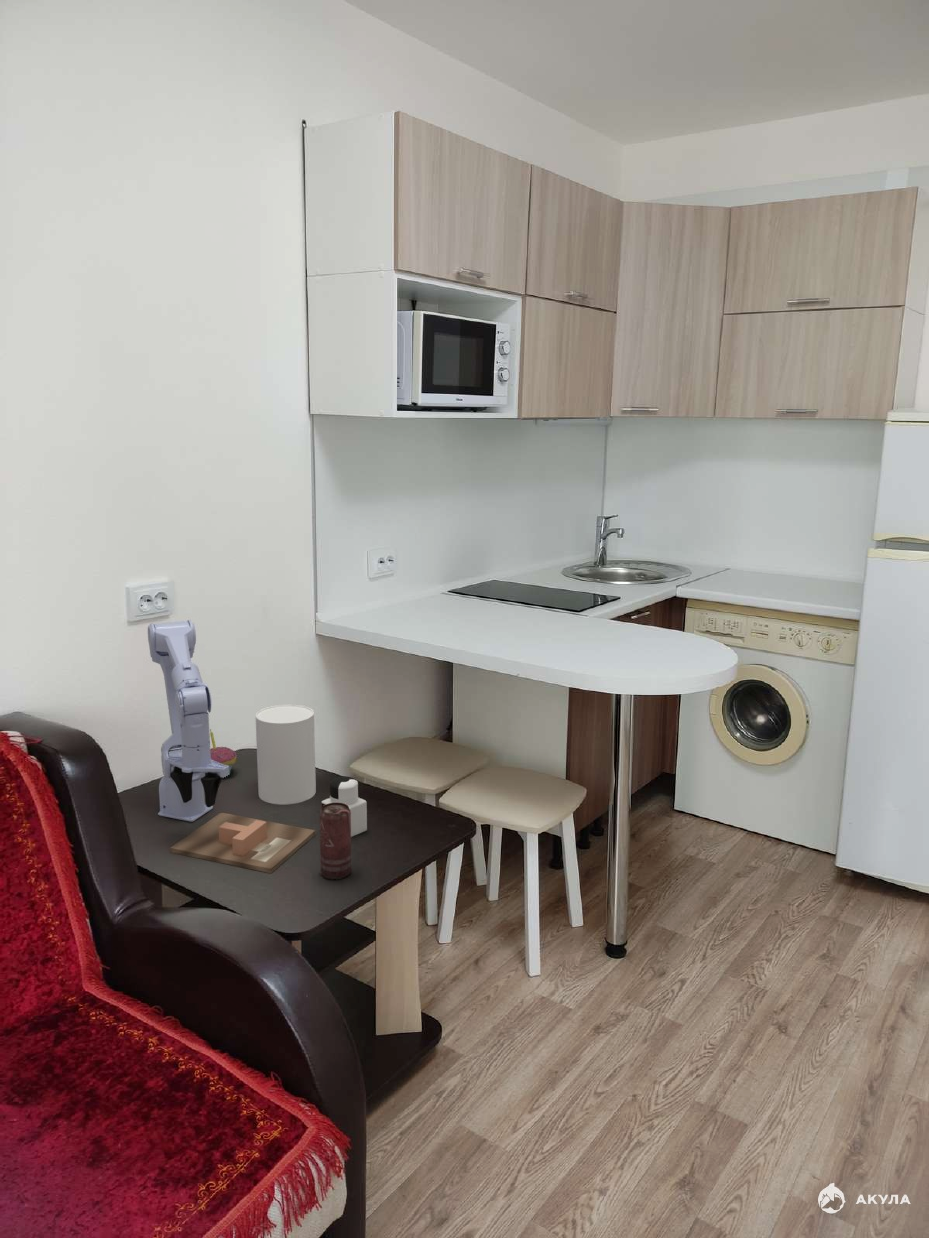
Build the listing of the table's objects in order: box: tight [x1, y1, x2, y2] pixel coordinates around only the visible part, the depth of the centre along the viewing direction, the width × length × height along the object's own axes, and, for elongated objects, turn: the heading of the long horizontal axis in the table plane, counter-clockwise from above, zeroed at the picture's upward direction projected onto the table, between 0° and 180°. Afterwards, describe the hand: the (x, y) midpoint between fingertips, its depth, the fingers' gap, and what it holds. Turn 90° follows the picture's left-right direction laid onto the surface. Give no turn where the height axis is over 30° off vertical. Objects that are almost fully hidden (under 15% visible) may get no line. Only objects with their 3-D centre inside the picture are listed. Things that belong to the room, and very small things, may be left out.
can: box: [319, 803, 352, 880], centre depth 179 cm, size 6×6×14 cm
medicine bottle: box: [321, 775, 368, 838], centre depth 197 cm, size 7×7×12 cm
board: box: [169, 812, 316, 874], centre depth 192 cm, size 24×18×1 cm
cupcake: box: [209, 728, 238, 775], centre depth 226 cm, size 9×8×12 cm
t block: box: [219, 819, 267, 856], centre depth 190 cm, size 8×9×4 cm
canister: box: [255, 703, 317, 806], centre depth 215 cm, size 14×14×20 cm
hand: (199, 803), depth 191 cm, fingers open, 5 cm apart
